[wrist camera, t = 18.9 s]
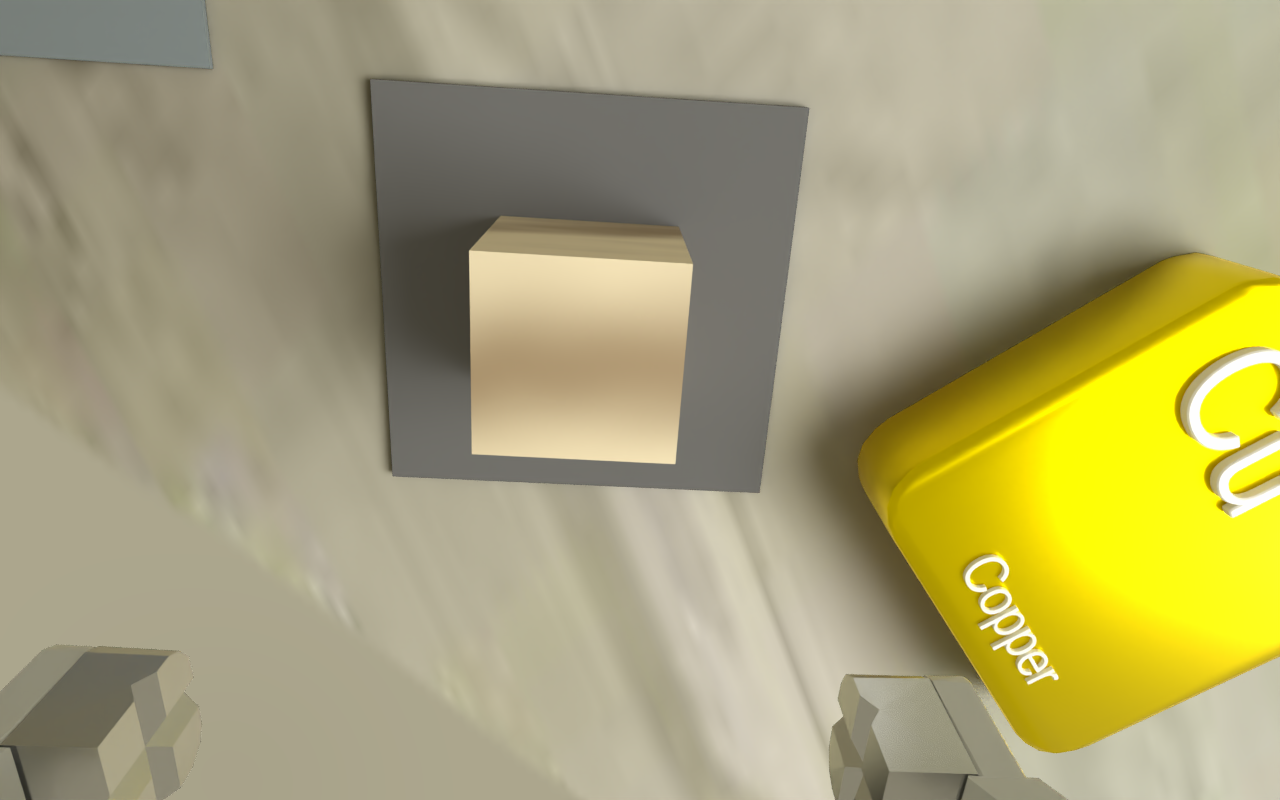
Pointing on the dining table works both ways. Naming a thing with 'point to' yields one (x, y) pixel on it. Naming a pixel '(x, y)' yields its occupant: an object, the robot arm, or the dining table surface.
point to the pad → (585, 191)
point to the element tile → (1103, 501)
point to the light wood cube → (578, 339)
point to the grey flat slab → (108, 31)
